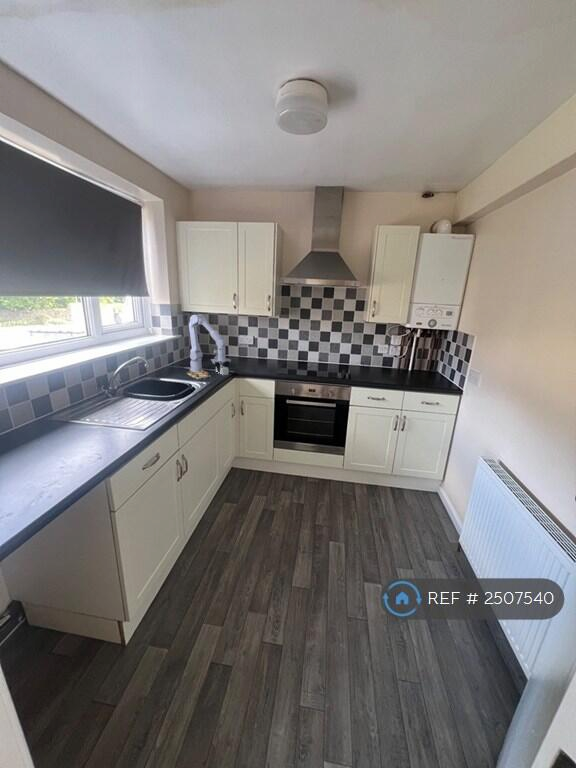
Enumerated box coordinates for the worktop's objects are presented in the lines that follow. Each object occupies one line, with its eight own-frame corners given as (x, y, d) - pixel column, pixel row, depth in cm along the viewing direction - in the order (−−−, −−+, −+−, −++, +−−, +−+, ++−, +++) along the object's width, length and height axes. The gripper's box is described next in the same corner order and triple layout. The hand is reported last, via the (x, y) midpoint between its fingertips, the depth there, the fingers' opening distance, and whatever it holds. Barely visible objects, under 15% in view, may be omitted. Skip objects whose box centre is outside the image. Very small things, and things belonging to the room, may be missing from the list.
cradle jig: (187, 374, 228) (186, 370, 228) (200, 372, 235) (200, 368, 234) (197, 379, 215) (196, 375, 214) (211, 377, 222) (211, 373, 221)
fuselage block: (215, 372, 238) (215, 366, 236) (221, 371, 241) (221, 365, 239) (222, 375, 229) (222, 368, 228) (228, 374, 233) (228, 368, 231)
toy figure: (207, 366, 257) (206, 348, 253) (215, 364, 266) (214, 347, 262) (222, 368, 249) (221, 351, 245) (230, 366, 258) (230, 349, 254)
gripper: (215, 355, 223) (215, 373, 227) (232, 354, 233) (232, 371, 236) (211, 354, 229) (211, 371, 232) (228, 352, 238) (228, 369, 241)
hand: (222, 371), depth 235 cm, fingers closed on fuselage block, 5 cm apart
